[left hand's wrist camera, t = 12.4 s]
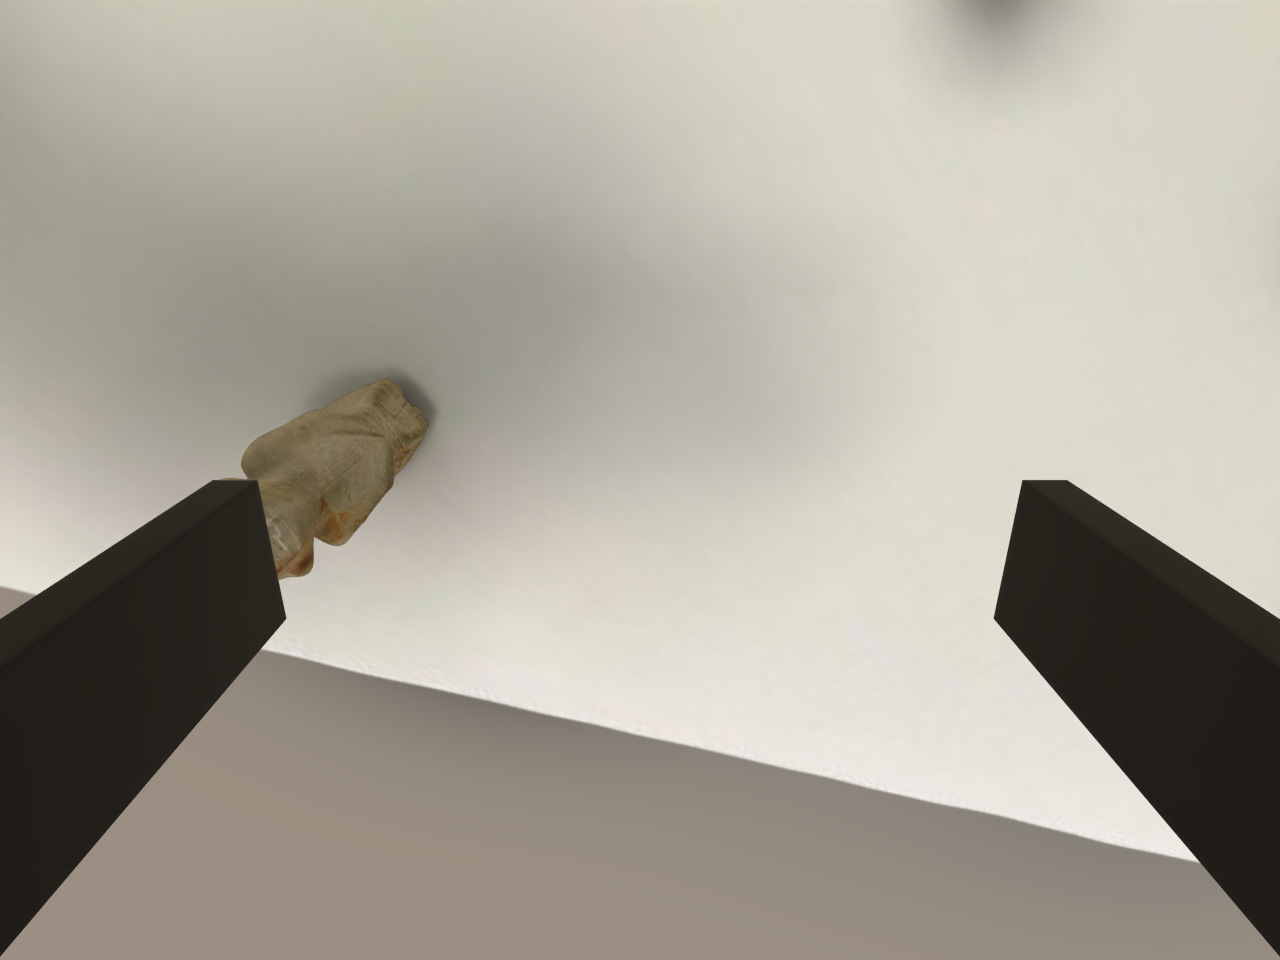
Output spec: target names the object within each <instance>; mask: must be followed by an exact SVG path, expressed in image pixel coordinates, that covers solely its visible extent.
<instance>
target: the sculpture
mask: <svg viewBox="0 0 1280 960" xmlns="http://www.w3.org/2000/svg"><path fill="white" fill-rule="evenodd" d="M428 426H429V422H428V420H427V419H426V417H425V416H424V414H423V413H422V412H421V411H420V410H419V409H418V408H417V407H412V406H411V405H410V404H409V403H408V402H407V400H406V399H405V398H404V397H403V391H402V390H401V389H400V388H399V387H398V386H397V385H396V384H395V383H394V382H393V381H392V380H391V379H389V378H384V379H382V380H380V381H379V382H377V383H374V384H371V385H367V386H364V387H361V388H359V389H356V390H354V391H352V392H350V393H348V394H346V395H344V396H343V397H341V398H339V399H337V400H336V401H334V402H333V403H331V404H330V405H328V406H327V407H326V408H325V409H324V410H313V411H310V412H307V413H305V414H303V415H301V416H299V417H297V418H295V419H294V420H292V421H290V422H288V423H287V424H285V425H283V426H281V427H279V428H277V429H275V430H273V431H271V432H268V433H266V434H264V435H262V436H261V437H259V438H257V439H256V440H255V441H254V442H252V443H251V445H250V446H249V447H248V448H247V450H246V451H245V453H244V454H243V457H242V462H241V467H242V469H243V471H244V473H245V475H246V476H247V478H248V479H249V480H258V485H259V490H260V494H261V499H262V504H263V509H264V514H265V518H266V523H267V528H268V533H269V538H270V542H271V547H272V552H273V557H274V562H275V566H276V571H277V576H278V580H281V579H284V578H288V577H301V576H304V575H307V574H308V573H309V572H310V571H311V570H312V567H313V562H314V549H313V541H314V537H316V538H318V539H319V540H321V541H323V542H325V543H327V544H330V545H334V546H341V545H343V544H345V543H346V542H347V541H348V540H349V539H350V538H351V536H352V535H353V534H354V532H355V531H356V530H357V529H358V528H359V527H360V525H361V524H363V523H364V522H365V520H366V519H367V517H368V516H369V514H370V513H371V512H372V510H373V509H374V508H375V506H376V505H377V504H378V503H379V502H380V500H381V499H382V498H383V496H384V495H385V494H386V493H387V492H388V491H389V490H390V489H391V488H392V486H393V483H394V476H395V475H396V474H398V473H399V472H400V471H401V470H402V469H403V468H404V466H405V465H406V464H407V462H408V461H409V460H410V459H411V457H412V456H413V454H414V452H415V451H416V449H417V448H418V446H419V445H420V443H421V441H422V439H423V437H424V434H425V431H426V430H427V428H428ZM248 479H236V478H225V479H221V480H248Z"/></svg>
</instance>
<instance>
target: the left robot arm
mask: <svg viewBox="0 0 1280 960" xmlns="http://www.w3.org/2000/svg"><path fill="white" fill-rule="evenodd" d="M285 620H286V614H285V610H284V605H283V600H282V595H281V590H280V586H279V581H278V576H277V571H276V566H275V562H274V557H273V552H272V547H271V542H270V538H269V533H268V528H267V523H266V518H265V514H264V509H263V504H262V499H261V494H260V490H259V485H258V480H212V481H211V482H209V483H208V484H206V485H205V486H203V487H202V488H200V489H199V490H197V491H196V492H194V493H193V494H191V495H189V496H188V497H186V498H185V499H183V500H182V501H180V502H179V503H177V504H176V505H174V506H173V507H171V508H170V509H168V510H167V511H165V512H163V513H162V514H160V515H159V516H157V517H156V518H154V519H153V520H151V521H150V522H148V523H147V524H145V525H144V526H142V527H141V528H139V529H137V530H136V531H134V532H133V533H131V534H130V535H128V536H127V537H125V538H124V539H122V540H121V541H119V542H118V543H116V544H115V545H113V546H111V547H110V548H108V549H107V550H105V551H104V552H102V553H101V554H99V555H98V556H96V557H95V558H93V559H92V560H90V561H88V562H87V563H85V564H84V565H82V566H81V567H79V568H78V569H76V570H75V571H73V572H72V573H70V574H69V575H67V576H66V577H64V578H62V579H61V580H59V581H58V582H56V583H55V584H53V585H52V586H50V587H49V588H47V589H46V590H44V591H43V592H41V593H40V594H38V595H36V596H35V597H34V598H32V599H30V600H29V601H27V602H26V603H24V604H23V605H21V606H20V607H18V608H17V609H15V610H14V611H12V612H11V613H9V614H7V615H6V616H4V617H3V618H1V619H0V956H1V955H2V954H3V953H4V951H5V950H6V949H7V948H8V947H9V945H10V944H11V943H12V942H13V941H14V940H15V938H16V937H17V936H18V935H19V934H20V933H21V931H22V930H23V929H24V928H25V927H26V925H27V924H28V923H29V922H30V921H31V920H32V918H33V917H34V916H35V915H36V914H37V912H38V911H39V910H40V909H41V908H42V907H43V905H44V904H45V903H46V902H47V901H48V899H49V898H50V897H51V896H52V895H53V893H54V892H55V891H56V890H57V889H58V888H59V886H60V885H61V884H62V883H63V882H64V881H65V879H66V878H67V877H68V876H69V875H70V873H71V872H72V871H73V870H74V869H75V868H76V866H77V865H78V864H79V863H80V862H81V860H82V859H83V858H84V857H85V856H86V855H87V853H88V852H89V851H90V850H91V849H92V847H93V846H94V845H95V844H96V843H97V842H98V840H99V839H100V838H101V837H102V836H103V834H104V833H105V832H106V831H107V830H108V829H109V827H110V826H111V825H112V824H113V823H114V821H115V820H116V819H117V818H118V817H119V816H120V814H121V813H122V812H123V811H124V810H125V809H126V807H127V806H128V805H129V804H130V803H131V801H132V800H133V799H134V798H135V797H136V796H137V794H138V793H139V792H140V791H141V790H142V788H143V787H144V786H145V785H146V784H147V782H148V781H149V780H150V779H151V778H152V777H153V775H154V774H155V773H156V772H157V771H158V770H159V768H160V767H161V766H162V765H163V764H164V762H165V761H166V760H167V759H168V758H169V757H170V755H171V754H172V753H173V752H174V751H175V750H176V748H177V747H178V746H179V745H180V744H181V742H182V741H183V740H184V739H185V738H186V737H187V735H188V734H189V733H190V732H191V731H192V729H193V728H194V727H195V726H196V725H197V724H198V722H199V721H200V720H201V719H202V718H203V716H204V715H205V714H206V713H207V712H208V711H209V709H210V708H211V707H212V706H213V705H214V703H215V702H216V701H217V700H218V699H219V698H220V696H221V695H222V694H223V693H224V692H225V690H226V689H227V688H228V687H229V686H230V685H231V683H232V682H233V681H234V680H235V679H236V677H237V676H238V675H239V674H240V673H241V672H242V670H243V669H244V668H245V667H246V666H247V664H248V663H249V662H250V661H251V660H252V659H253V657H254V656H255V655H256V654H257V653H258V652H259V650H260V649H261V648H262V647H263V646H264V644H265V643H266V642H267V641H268V640H269V639H270V637H271V636H272V635H273V634H274V633H275V631H276V630H277V629H278V628H279V627H280V626H281V624H282V623H283V622H284V621H285ZM994 620H995V621H996V622H997V623H998V624H999V626H1000V627H1001V628H1002V629H1003V630H1004V631H1005V633H1006V634H1007V635H1008V636H1009V637H1010V639H1011V640H1012V641H1013V642H1014V643H1015V644H1016V646H1017V647H1018V648H1019V649H1020V650H1021V652H1022V653H1023V654H1024V655H1025V656H1026V657H1027V659H1028V660H1029V661H1030V662H1031V663H1032V664H1033V666H1034V667H1035V668H1036V669H1037V670H1038V672H1039V673H1040V674H1041V675H1042V676H1043V677H1044V679H1045V680H1046V681H1047V682H1048V683H1049V685H1050V686H1051V687H1052V688H1053V689H1054V690H1055V692H1056V693H1057V694H1058V695H1059V696H1060V698H1061V699H1062V700H1063V701H1064V702H1065V703H1066V705H1067V706H1068V707H1069V708H1070V709H1071V711H1072V712H1073V713H1074V714H1075V715H1076V716H1077V718H1078V719H1079V720H1080V721H1081V722H1082V724H1083V725H1084V726H1085V727H1086V728H1087V729H1088V731H1089V732H1090V733H1091V734H1092V735H1093V737H1094V738H1095V739H1096V740H1097V741H1098V742H1099V744H1100V745H1101V746H1102V747H1103V748H1104V750H1105V751H1106V752H1107V753H1108V754H1109V755H1110V757H1111V758H1112V759H1113V760H1114V761H1115V762H1116V764H1117V765H1118V766H1119V767H1120V768H1121V770H1122V771H1123V772H1124V773H1125V774H1126V775H1127V777H1128V778H1129V779H1130V780H1131V781H1132V783H1133V784H1134V785H1135V786H1136V787H1137V788H1138V790H1139V791H1140V792H1141V793H1142V794H1143V796H1144V797H1145V798H1146V799H1147V800H1148V801H1149V803H1150V804H1151V805H1152V806H1153V807H1154V809H1155V810H1156V811H1157V812H1158V813H1159V814H1160V816H1161V817H1162V818H1163V819H1164V820H1165V822H1166V823H1167V824H1168V825H1169V826H1170V827H1171V829H1172V830H1173V831H1174V832H1175V833H1176V835H1177V836H1178V837H1179V838H1180V839H1181V840H1182V842H1183V843H1184V844H1185V845H1186V846H1187V847H1188V849H1189V850H1190V851H1191V852H1192V853H1193V855H1194V856H1195V857H1196V858H1197V859H1198V860H1199V862H1200V863H1201V864H1202V865H1203V866H1204V868H1205V869H1206V870H1207V871H1208V872H1209V873H1210V875H1211V876H1212V877H1213V878H1214V879H1215V881H1216V882H1217V883H1218V884H1219V885H1220V886H1221V888H1222V889H1223V890H1224V891H1225V892H1226V894H1227V895H1228V896H1229V897H1230V898H1231V899H1232V901H1233V902H1234V903H1235V904H1236V905H1237V907H1238V908H1239V909H1240V910H1241V911H1242V912H1243V914H1244V915H1245V916H1246V917H1247V918H1248V920H1249V921H1250V922H1251V923H1252V924H1253V925H1254V927H1255V928H1256V929H1257V930H1258V931H1259V933H1260V934H1261V935H1262V936H1263V937H1264V938H1265V940H1266V941H1267V942H1268V943H1269V944H1270V945H1271V947H1272V948H1273V949H1274V950H1275V951H1276V953H1277V954H1278V955H1279V956H1280V619H1279V618H1277V617H1276V616H1274V615H1273V614H1271V613H1270V612H1268V611H1266V610H1265V609H1263V608H1262V607H1260V606H1259V605H1257V604H1256V603H1254V602H1253V601H1251V600H1250V599H1248V598H1247V597H1245V596H1244V595H1242V594H1240V593H1239V592H1237V591H1236V590H1234V589H1233V588H1231V587H1230V586H1228V585H1227V584H1225V583H1224V582H1222V581H1221V580H1219V579H1218V578H1216V577H1214V576H1213V575H1211V574H1210V573H1208V572H1207V571H1205V570H1204V569H1202V568H1201V567H1199V566H1198V565H1196V564H1195V563H1193V562H1192V561H1190V560H1188V559H1187V558H1185V557H1184V556H1182V555H1181V554H1179V553H1178V552H1176V551H1175V550H1173V549H1172V548H1170V547H1169V546H1167V545H1165V544H1164V543H1162V542H1161V541H1159V540H1158V539H1156V538H1155V537H1153V536H1152V535H1150V534H1149V533H1147V532H1146V531H1144V530H1143V529H1141V528H1139V527H1138V526H1136V525H1135V524H1133V523H1132V522H1130V521H1129V520H1127V519H1126V518H1124V517H1123V516H1121V515H1120V514H1118V513H1117V512H1115V511H1113V510H1112V509H1110V508H1109V507H1107V506H1106V505H1104V504H1103V503H1101V502H1100V501H1098V500H1097V499H1095V498H1094V497H1092V496H1091V495H1089V494H1087V493H1086V492H1084V491H1083V490H1081V489H1080V488H1078V487H1077V486H1075V485H1074V484H1072V483H1071V482H1069V481H1068V480H1022V485H1021V490H1020V494H1019V499H1018V504H1017V509H1016V514H1015V518H1014V523H1013V528H1012V533H1011V538H1010V542H1009V547H1008V552H1007V557H1006V562H1005V566H1004V571H1003V576H1002V581H1001V586H1000V590H999V595H998V600H997V605H996V610H995V614H994Z"/></svg>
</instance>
